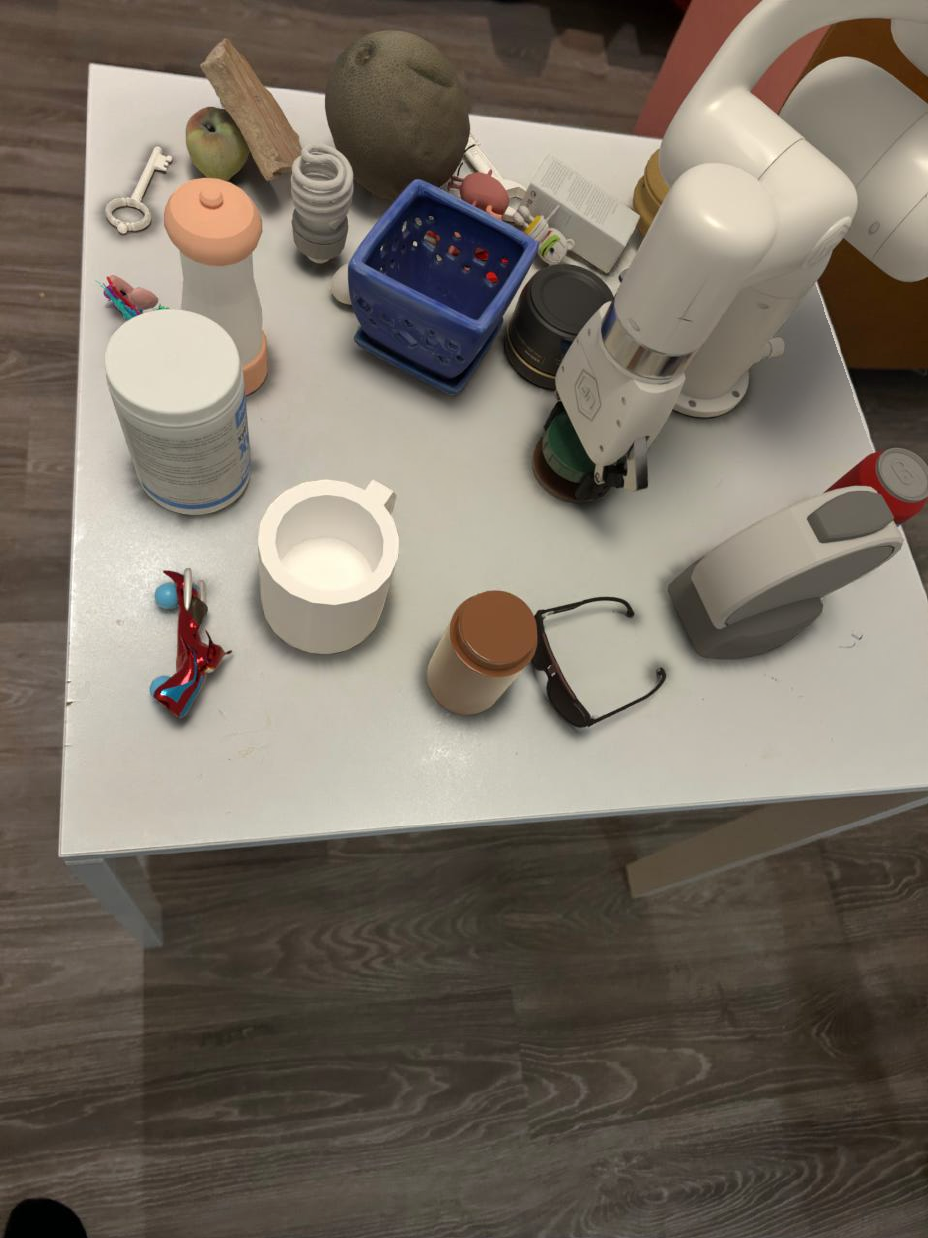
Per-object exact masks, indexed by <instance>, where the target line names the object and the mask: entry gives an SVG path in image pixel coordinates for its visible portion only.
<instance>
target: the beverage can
mask: <svg viewBox="0 0 928 1238" xmlns="http://www.w3.org/2000/svg"><path fill="white" fill-rule="evenodd" d="M851 486H868V487H872V488H873V489H874V490H876V491H877V493H878V494H881V495H882V497H883V499H884V500H885V502H886V504H887V506H888V507H889V509H890V511H891V513H892V514H893V516H894V520H893V521H894V523H895V524H896V526H897V528H899V527H900V526H901V525H903V524H904V523H906V522H907V521H909V520H910V519H911V518H913V517H914V516H916V515H917V514H918V513H920V512H921V511H922V510H923V509H924V507H925V506H926V503H927V501H928V464H926V462H925V461H924V459H922V458H921V457H920V456H919V455H917V454H916V453H914V452H913V451H911V450H908V449H906V448H903V447H891V448H888V449H886V450H878V451H874V452H871V453H869V454H868V455H866V456H865V457H864V458H863V459H861V460H860V461H859V462H858V463H857V464H855V465H854V466H853V467H852V468H850V469H849V470H848V471H847V472H846V473H844V474H843V475H842V476H841V477H840V478H839V479H837V480H836V481H835V482H833V484H832V485H830V486H829V487H828V488H827V489H825V490H824V491H823V492H822V493H821V494H823V493H826V492H829V491H832V490H836V489H840V488H846V487H851Z"/></svg>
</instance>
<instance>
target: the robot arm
mask: <svg viewBox="0 0 928 1238" xmlns="http://www.w3.org/2000/svg"><path fill="white" fill-rule="evenodd" d="M859 19H885V20H888V19H889V20H890V22H891V23H890V32H891V35H892V39H893V42H894V43H895V45H896V46H897V48H898V49H899V51H900V52H901V53H902V54H903V56H904V57H905V58H906V59H907V60H908V61H909V62H910V63H911V64H912V65H913V66H914V67H915V68H917V69H918V70H919V71H920V72H921V73H922V74H923V75H925V76H926V77H927V78H928V0H761V1H759V3H757V5H756V6H755V7H753V9H752V10H751V11H750V12H748V13H747V14H746V15H745V16H744V17H743V19H741V20H740V22H739V23H738V24H737V25H736V27H735V28H734V29H733V30H732V31H731V32H730V34H729V35H728V37H727V38H726V39H725V41H724V42H723V44H721V46H720V48H719V49H718V51H717V52H716V53H715V55H714V57H712V59H711V61H710V62H709V63H708V65H707V66H706V68H705V69H704V70H703V72H702V74H700V76H699V78H698V79H697V81H696V82H695V84H694V85H693V86H692V88H691V89H690V91H689V92H688V94H687V95H686V97H685V98H684V100H683V101H682V103H681V104H680V106H679V107H678V109H677V110H676V112H675V114H674V116H673V118H672V119H671V121H670V123H669V124H668V126H667V129H666V131H665V133H664V135H663V137H662V140H661V142H660V145H659V148H660V150H659V158H658V161H659V170H660V173H661V176H662V178H663V179H664V181H665V183H666V184H667V185H668V187H669V188H670V190H669V192H668V193H667V195H666V197H665V199H664V201H663V203H662V205H661V206H660V208H659V210H658V212H657V214H656V216H655V218H654V220H653V222H652V224H651V226H650V228H649V230H648V232H647V234H646V236H645V238H644V237H643V239H642V241H641V244H640V245H639V248H638V249H637V250H636V253H635V255H634V257H633V259H632V260H631V263H630V265H629V267H628V268H625V269H624V270H622V271H621V272H620V273H619V275H618V277H617V278H618V281H619V283H620V284H619V286H618V288H617V290H616V292H615V294H614V295H613V296H614V298H613V300H612V301H610V302H607V303H605V304H604V305H603V306H602V307H601V308H600V309H599V310H598V311H597V312H596V313H595V314H594V315H593V316H592V317H591V318H590V319H589V321H588V322H587V323H586V324H585V326H584V327H583V328H582V330H581V331H580V332H579V334H578V335H577V337H572V338H566V339H562V340H561V361H562V362H561V364H560V366H559V369H558V371H557V374H556V378H555V383H556V388H557V389H554V390H555V391H554V397H555V400H556V402H555V403H554V405H553V407H552V409H551V411H550V413H549V415H548V417H547V419H546V422H545V423H544V424H543V430H544V433H545V432H546V430H547V429H548V427H549V426H550V424H551V422H552V420H553V419H554V418H555V417H556V416H557V415H558V414H559V413H561V412H563V411H566V412H567V414H568V416H569V418H570V420H571V422H572V424H573V426H574V428H575V430H576V433H577V435H578V437H579V439H580V441H581V443H582V445H583V447H584V449H585V451H586V452H587V454H588V456H589V457H590V459H591V460H592V461H593V462H594V463H595V464H596V465H595V471H591V472H589V473H588V474H587V475H586V477H585V478H584V480H583V481H582V483H581V485H580V486H579V488H578V489H577V491H576V492H575V493H576V494H575V496H576V498H577V500H582V499H586V498H591V501H595V500H599V499H600V500H601V499H602V498H604V497H605V496H606V495H607V494H608V493H609V492H610V490H611V489H612V488H614V489H617V490H619V489H623V490H624V491H627V492H631V493H637V492H640V491H645V490H647V489H648V488H649V469H648V453H647V451H648V449H650V447H651V445H652V444H653V443H654V442H655V440H656V438H657V437H658V435H660V433H661V432H662V429H663V427H664V425H665V424H666V423H667V420H668V419H669V417H670V415H671V414H672V411H673V410H674V411H676V412H678V413H681V414H683V415H685V416H690V417H695V418H712V417H713V418H714V417H719V416H721V415H724V414H727V413H728V412H730V411H731V410H734V408H735V407H736V406H737V405H738V404H739V403H740V402H741V400H742V399H743V398H744V396H745V395H746V393H747V390H748V388H749V382H750V373H749V370H750V368H751V367H752V366H753V365H755V364H758V363H760V361H761V360H762V359H770V358H776V357H779V356H782V355H783V354H784V352H785V348H786V344H785V341H784V339H783V338H782V337H778V336H776V337H774V335H775V334H776V332H778V330H779V329H780V328H781V326H782V325H783V324H784V323H785V321H786V320H787V319H788V318H789V316H790V315H791V314H792V313H793V311H794V310H795V309H796V308H797V307H798V305H799V304H800V303H801V302H802V300H803V299H804V298H805V296H806V295H807V294H808V293H809V291H810V290H811V289H812V288H813V287H814V285H816V283H817V281H818V280H819V279H820V278H821V276H822V275H823V274H824V272H825V270H826V268H827V266H828V264H829V262H830V259H831V257H832V255H833V251H834V249H835V248H836V247H837V246H838V245H839V244H840V243H841V242H842V240H843V239H844V240H845V241H847V242H848V244H850V245H851V246H853V248H855V250H857V251H858V252H860V254H862V255H863V256H864V257H865V258H866V259H868V260H869V261H870V262H871V263H873V264H874V265H875V266H876V267H877V268H878V269H879V270H881V271H882V272H884V273H885V274H886V275H888V276H890V277H891V278H893V279H894V280H897V281H900V282H903V283H913V282H918V281H921V280H925V279H926V278H928V103H927V102H926V101H925V100H923V99H922V98H921V97H920V96H919V95H918V94H916V93H915V92H914V91H912V90H911V89H910V88H909V87H908V86H906V85H905V84H904V83H902V82H901V81H900V80H899V79H898V78H896V77H895V76H894V75H893V74H891V73H889V72H888V71H887V70H885V69H884V68H883V67H880V66H878V65H877V64H874V63H873V62H870V61H868V60H867V59H863V58H860V57H854V56H839V57H835V58H830V59H828V60H826V61H824V62H822V63H820V64H818V65H817V66H816V67H814V68H813V69H811V71H809V72H808V73H806V75H805V76H804V77H803V78H802V79H801V80H800V81H799V82H798V84H797V85H796V86H795V87H794V89H793V90H792V91H791V93H790V94H789V96H788V98H787V99H786V101H785V103H784V105H782V108H781V110H780V111H779V114H777V113H776V112H774V110H772V109H771V108H770V107H769V106H767V105H766V104H765V103H764V102H763V101H762V100H761V99H760V98H758V97H757V96H756V95H754V94H753V93H752V91H753V89H754V88H755V87H756V85H757V83H758V82H759V81H760V79H761V78H762V77H763V76H764V74H765V73H766V72H767V70H768V69H769V68H770V67H771V66H772V65H773V64H774V63H775V61H777V59H779V57H780V56H781V55H782V54H783V53H784V52H785V51H786V50H788V49H789V48H790V47H791V46H792V45H794V44H795V43H797V42H798V41H800V40H801V39H802V38H804V37H805V36H808V35H809V34H810V33H813V32H815V31H817V30H819V29H821V28H824V27H827V26H830V25H834V24H837V23H841V22H846V21H852V20H853V21H854V20H859ZM614 462H615V463H614ZM613 463H614V464H613ZM611 464H613V465H611ZM609 465H611V466H609Z"/></svg>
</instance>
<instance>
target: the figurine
mask: <svg viewBox="0 0 928 1238" xmlns="http://www.w3.org/2000/svg"><path fill="white" fill-rule="evenodd" d="M492 172H493V171H492V169H490V170H489V172H488V174H485V173H480V172H478V171H476V172H471V173H468V174H467V175H466V176H465V177H464V178H461V177H459V176H458V177H457V176H454V175H453V176H452V177H451V178H450V181H447V185H446V187H447V191H448V192H450V191H451V189H455V190H456V189H457V190H458V191H459V195H460V199H461V200H463V201H465V202H467V203H469V204H471V205H473V206H475V207H477V208H479V209H481V210H483V211H485V212H487V213H489V214H491V215H493V216H494V217H496V218H498V219H500V220H502V215H503V214H504V213H505V212H506V210H507V208H508V206H509V205H510V199H509V196H508V194H507V191H506V190H505V188H504V187H503V185H502V184H501V183H500V182H499V181H498V180H497V179H495V178H493V177H492V176H491V175H492ZM455 182H458V183H461V184H457V183H455ZM509 207H510V206H509ZM502 221H503V220H502ZM428 232H431V233H433V232H432V231H427V233H426V235H425V236H427V235H428ZM455 235H456V237H461V236H460V234H459V233H457V232H455ZM437 239H438V241H439V239H440V237H439V236H438V235H437ZM438 241H437V242H438ZM482 251H484V250H483V249H481V248H477V249H476V251H475V254H477V253H480V252H482ZM448 252H449V253H450V254H451V255H452V254H457V255H459V253H460V250H459V249H457V248H456V247H454V246H450V247H449V249H448Z"/></svg>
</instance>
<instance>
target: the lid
mask: <svg viewBox="0 0 928 1238" xmlns="http://www.w3.org/2000/svg"><path fill="white" fill-rule="evenodd" d="M542 437H543V444H542V446H543V449H542V451H543V453H544V456H545V459H546V461H547V463H548V464H549V466H550V467H551V468H552V469H553V470H554V471H555V472H556V473H557V474H558V475H560V476H561V477H563V478H565V479H567V480H569V481H572V482H576V483H582V481H583V480H584V478H585V477H586V475H587V474H588V473H589V472H591V471H595V465H596V464H595V463H594V462H593V461H592V460H591V459H590V457H589V456H588V454H587V452H586V451H585V449H584V447H583V445H582V443H581V441H580V439H579V437H578V435H577V433H576V430H575V428H574V426H573V424H572V422H571V420H570V418H569V416H568V414H567V412H566V411H563V412H561V413H559V414H558V415H557V416H556V417H555V418H554V419H553V420H552V422H551V424H550V426H549V427H548V429H547V430H546V432H545V431H544V434H543V436H542ZM615 464H616V462H614V463H613V464H611V465H615ZM611 465H609V466H611Z"/></svg>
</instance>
